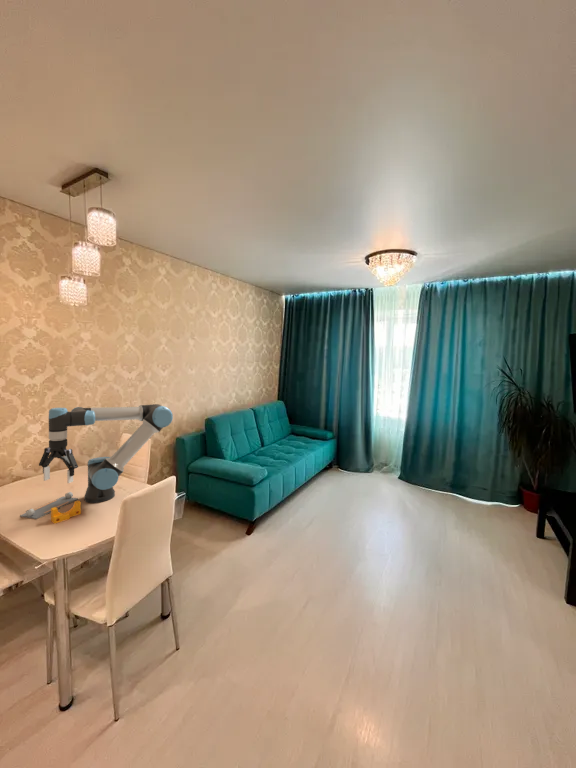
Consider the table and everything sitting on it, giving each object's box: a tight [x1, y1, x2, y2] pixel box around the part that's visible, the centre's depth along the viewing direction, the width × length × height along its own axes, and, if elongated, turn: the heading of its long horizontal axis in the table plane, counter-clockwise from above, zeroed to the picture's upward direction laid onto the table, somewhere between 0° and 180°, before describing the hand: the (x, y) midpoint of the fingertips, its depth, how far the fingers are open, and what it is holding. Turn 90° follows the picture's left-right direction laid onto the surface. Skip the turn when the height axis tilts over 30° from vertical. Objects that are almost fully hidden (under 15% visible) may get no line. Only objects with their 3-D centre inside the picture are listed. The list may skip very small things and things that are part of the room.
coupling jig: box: [19, 491, 79, 520], centre depth 170 cm, size 10×24×4 cm, turn 168°
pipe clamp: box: [50, 500, 82, 525], centre depth 160 cm, size 12×4×6 cm, turn 142°
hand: (58, 481), depth 161 cm, fingers open, 13 cm apart
